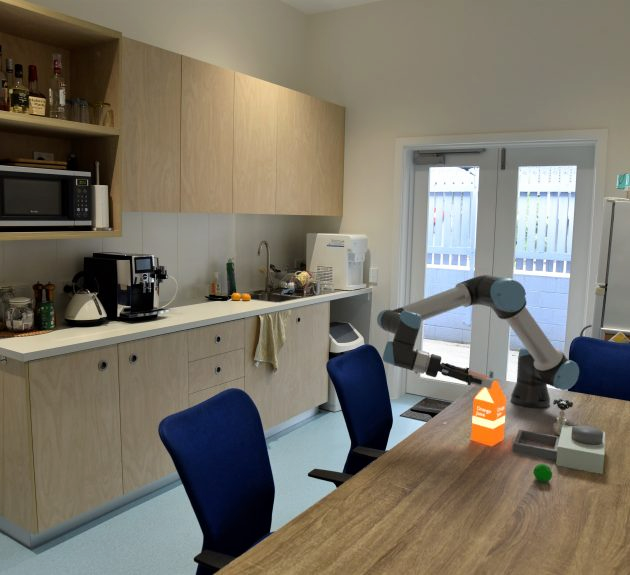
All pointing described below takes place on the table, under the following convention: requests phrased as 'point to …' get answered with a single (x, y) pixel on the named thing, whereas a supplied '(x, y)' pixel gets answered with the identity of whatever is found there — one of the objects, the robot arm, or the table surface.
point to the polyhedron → (542, 473)
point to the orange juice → (489, 415)
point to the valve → (561, 414)
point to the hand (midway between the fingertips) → (489, 382)
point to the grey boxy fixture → (567, 447)
